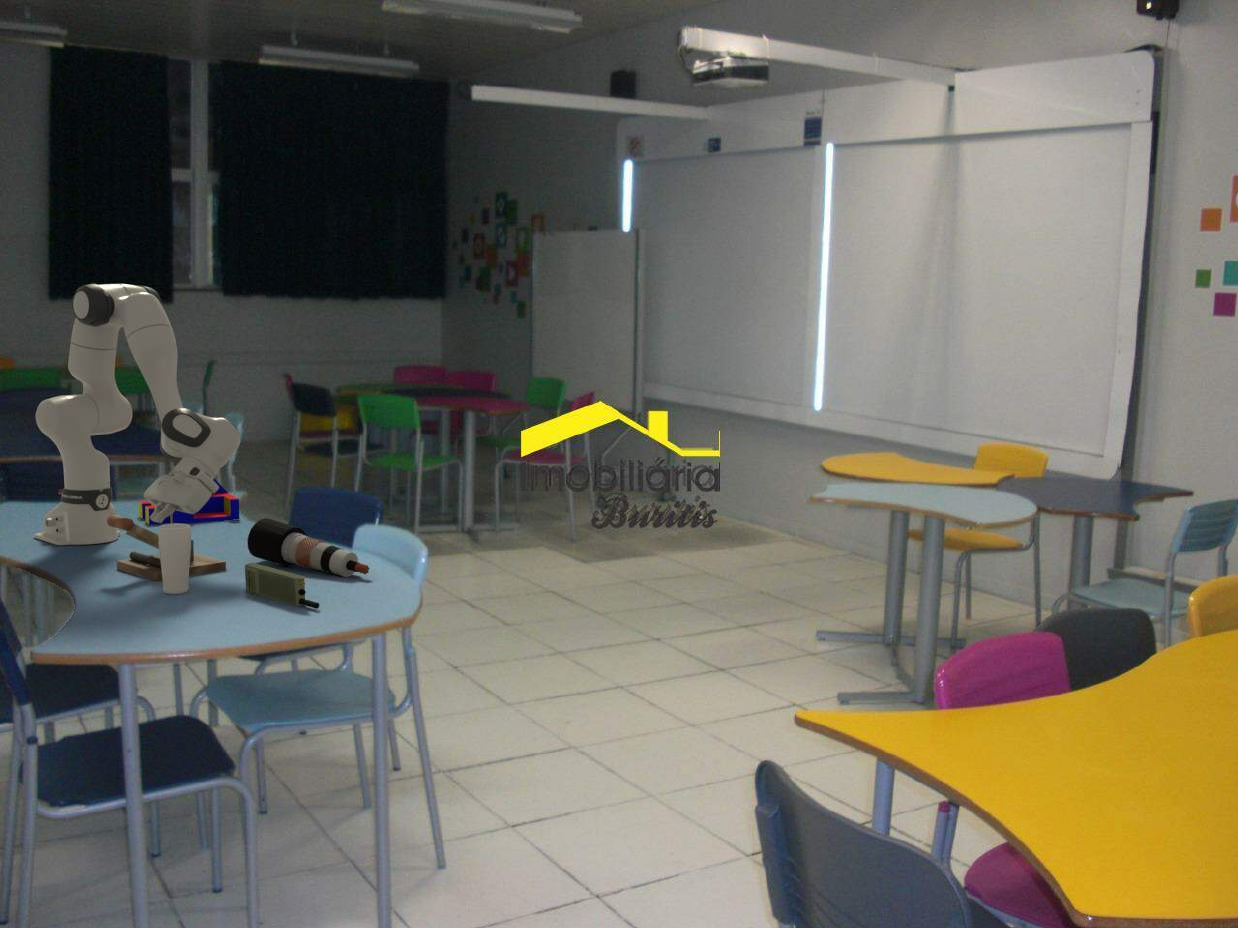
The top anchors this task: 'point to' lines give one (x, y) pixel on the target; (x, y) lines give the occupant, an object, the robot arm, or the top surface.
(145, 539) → the cutter lever
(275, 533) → the cable
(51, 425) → the robot arm
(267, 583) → the handheld radio
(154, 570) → the cutter board
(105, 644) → the top surface
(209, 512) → the building blocks toy
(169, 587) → the drinking glass
